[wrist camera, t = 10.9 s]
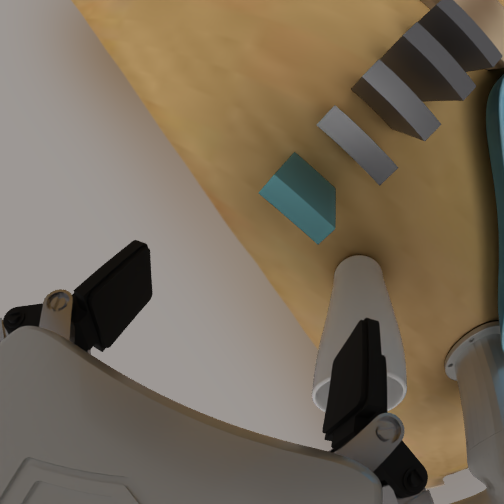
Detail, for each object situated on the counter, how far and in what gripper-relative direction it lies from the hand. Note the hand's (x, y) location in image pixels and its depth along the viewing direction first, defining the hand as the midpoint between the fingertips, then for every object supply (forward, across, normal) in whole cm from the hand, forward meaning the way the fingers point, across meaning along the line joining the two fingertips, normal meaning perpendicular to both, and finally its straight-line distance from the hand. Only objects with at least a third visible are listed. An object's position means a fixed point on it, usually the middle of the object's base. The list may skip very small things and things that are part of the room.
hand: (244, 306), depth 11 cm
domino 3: (+17, -3, -6) cm, 18 cm away
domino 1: (+17, -7, -14) cm, 23 cm away
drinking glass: (+17, -8, +7) cm, 20 cm away
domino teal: (+17, -1, -2) cm, 17 cm away
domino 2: (+17, -5, -10) cm, 20 cm away
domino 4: (+17, -8, -17) cm, 25 cm away
